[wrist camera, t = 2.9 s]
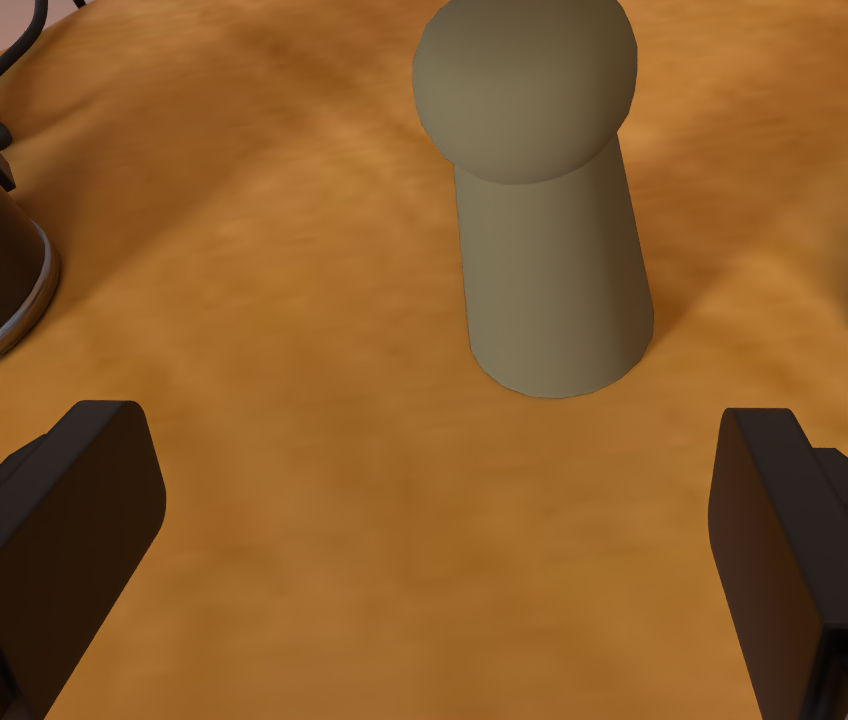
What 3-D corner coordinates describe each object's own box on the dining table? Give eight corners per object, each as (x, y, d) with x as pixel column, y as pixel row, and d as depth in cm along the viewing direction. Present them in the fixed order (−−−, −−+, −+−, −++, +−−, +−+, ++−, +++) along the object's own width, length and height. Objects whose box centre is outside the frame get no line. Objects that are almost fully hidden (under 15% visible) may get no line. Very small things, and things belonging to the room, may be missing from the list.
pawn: (645, 245, 26) (644, -90, 18) (664, 392, 23) (674, 63, 14) (471, 263, 28) (392, -38, 19) (464, 404, 24) (362, 112, 16)
